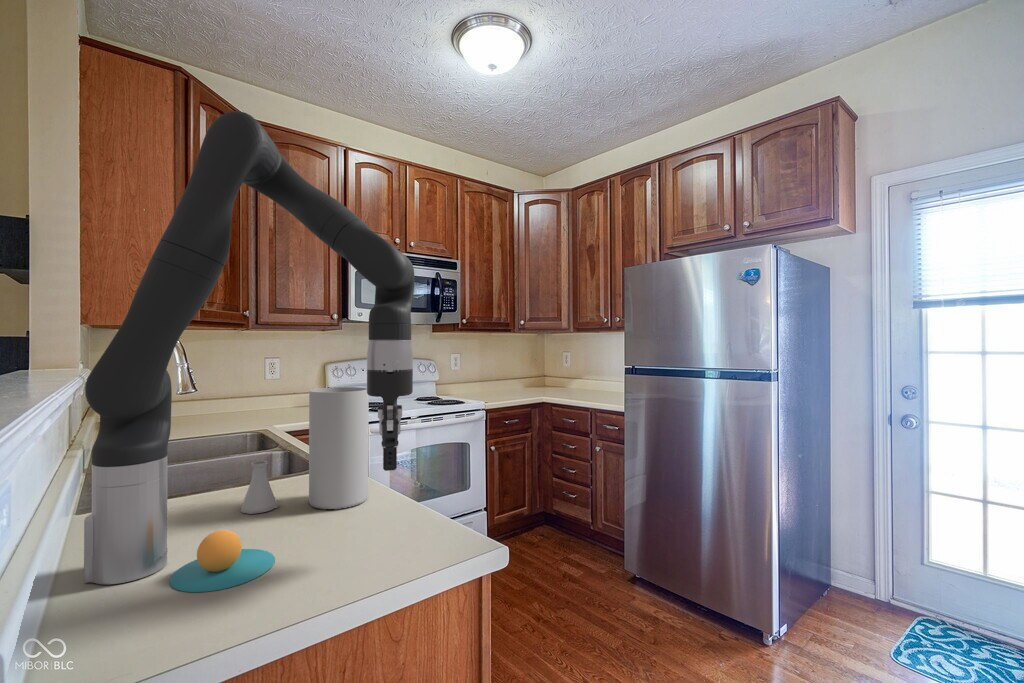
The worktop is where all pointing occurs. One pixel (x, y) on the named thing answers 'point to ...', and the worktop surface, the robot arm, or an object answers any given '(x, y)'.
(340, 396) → the cylinder vase
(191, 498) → the worktop surface
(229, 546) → the ball
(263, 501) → the flask
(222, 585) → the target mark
